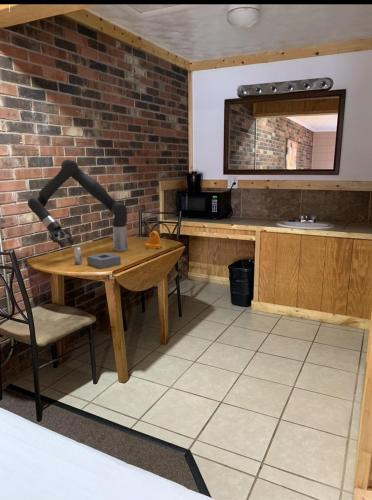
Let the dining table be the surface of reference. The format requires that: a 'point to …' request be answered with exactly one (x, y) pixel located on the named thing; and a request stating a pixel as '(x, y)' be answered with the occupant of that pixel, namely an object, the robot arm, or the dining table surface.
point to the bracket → (154, 241)
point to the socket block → (103, 260)
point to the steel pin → (78, 255)
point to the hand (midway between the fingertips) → (67, 244)
